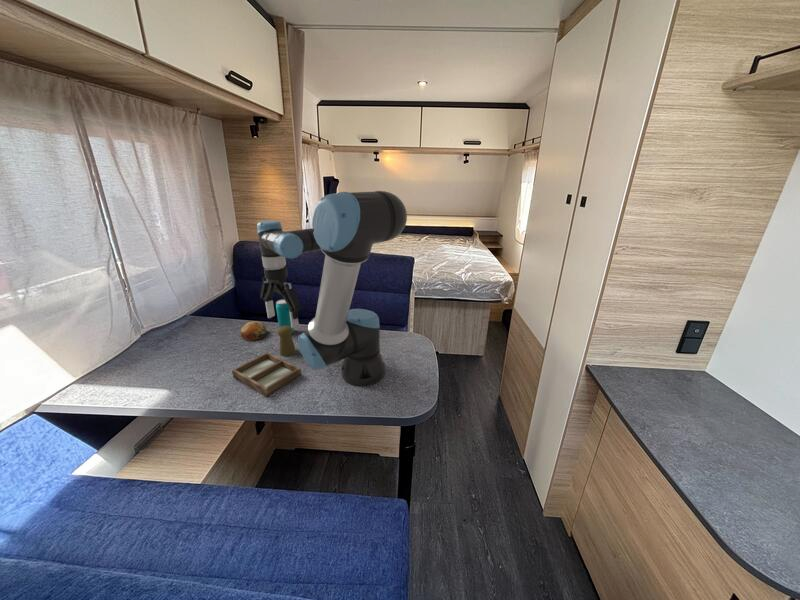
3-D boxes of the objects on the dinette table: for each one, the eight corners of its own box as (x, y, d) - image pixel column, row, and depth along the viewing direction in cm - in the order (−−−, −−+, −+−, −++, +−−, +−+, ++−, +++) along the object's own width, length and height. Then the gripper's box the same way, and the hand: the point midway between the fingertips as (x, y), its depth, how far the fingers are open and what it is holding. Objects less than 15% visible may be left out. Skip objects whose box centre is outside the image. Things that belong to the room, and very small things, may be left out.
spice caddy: (301, 375, 108) (300, 368, 107) (266, 397, 97) (265, 389, 96) (268, 359, 117) (266, 352, 116) (233, 377, 107) (231, 370, 106)
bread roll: (265, 336, 141) (260, 319, 140) (271, 335, 132) (265, 317, 132) (241, 343, 135) (236, 325, 135) (246, 343, 127) (240, 324, 126)
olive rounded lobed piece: (289, 357, 118) (285, 332, 114) (276, 354, 120) (272, 329, 116) (299, 349, 124) (295, 325, 119) (286, 347, 125) (282, 322, 121)
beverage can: (296, 330, 138) (292, 299, 133) (290, 336, 133) (286, 304, 128) (283, 329, 139) (279, 298, 133) (277, 336, 134) (272, 303, 128)
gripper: (308, 270, 105) (313, 326, 114) (262, 258, 118) (270, 309, 126) (290, 276, 100) (297, 334, 108) (243, 263, 112) (253, 316, 120)
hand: (282, 321), depth 117 cm, fingers open, 13 cm apart
